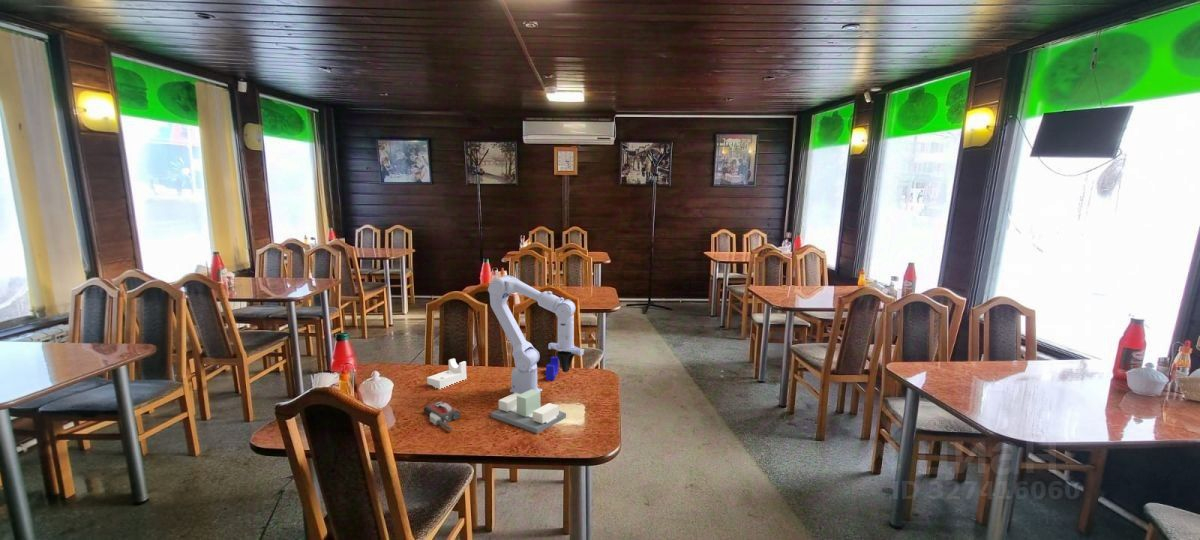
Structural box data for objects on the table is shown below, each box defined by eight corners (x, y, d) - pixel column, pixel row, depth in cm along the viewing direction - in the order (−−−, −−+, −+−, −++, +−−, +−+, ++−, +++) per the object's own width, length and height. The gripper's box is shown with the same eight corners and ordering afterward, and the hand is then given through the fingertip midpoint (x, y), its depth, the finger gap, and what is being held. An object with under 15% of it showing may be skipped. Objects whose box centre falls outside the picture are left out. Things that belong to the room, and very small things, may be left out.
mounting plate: (491, 417, 163) (490, 402, 162) (520, 403, 174) (520, 389, 174) (537, 433, 152) (537, 418, 151) (565, 417, 163) (565, 403, 163)
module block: (516, 413, 161) (516, 395, 160) (531, 406, 167) (531, 389, 166) (526, 416, 159) (525, 398, 158) (540, 409, 165) (540, 392, 164)
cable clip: (548, 370, 208) (548, 356, 208) (558, 370, 208) (558, 357, 207) (542, 380, 197) (542, 366, 196) (553, 381, 196) (553, 366, 195)
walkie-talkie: (417, 415, 165) (448, 435, 151) (416, 402, 165) (447, 421, 151) (442, 407, 171) (473, 425, 158) (441, 395, 171) (473, 412, 157)
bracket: (454, 376, 201) (453, 358, 200) (466, 379, 197) (466, 361, 196) (427, 386, 190) (426, 367, 189) (439, 390, 186) (439, 370, 185)
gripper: (542, 333, 178) (543, 370, 180) (575, 340, 170) (575, 378, 172) (555, 329, 184) (555, 365, 186) (587, 335, 176) (587, 372, 178)
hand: (565, 371), depth 179 cm, fingers closed
